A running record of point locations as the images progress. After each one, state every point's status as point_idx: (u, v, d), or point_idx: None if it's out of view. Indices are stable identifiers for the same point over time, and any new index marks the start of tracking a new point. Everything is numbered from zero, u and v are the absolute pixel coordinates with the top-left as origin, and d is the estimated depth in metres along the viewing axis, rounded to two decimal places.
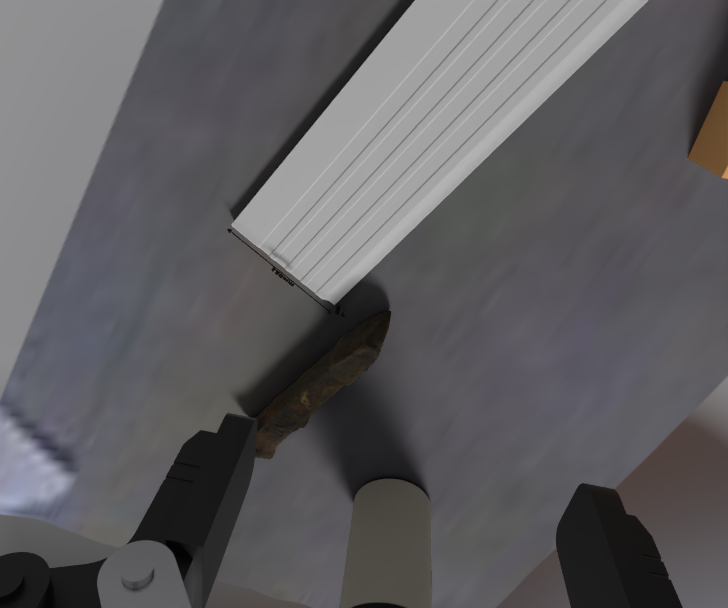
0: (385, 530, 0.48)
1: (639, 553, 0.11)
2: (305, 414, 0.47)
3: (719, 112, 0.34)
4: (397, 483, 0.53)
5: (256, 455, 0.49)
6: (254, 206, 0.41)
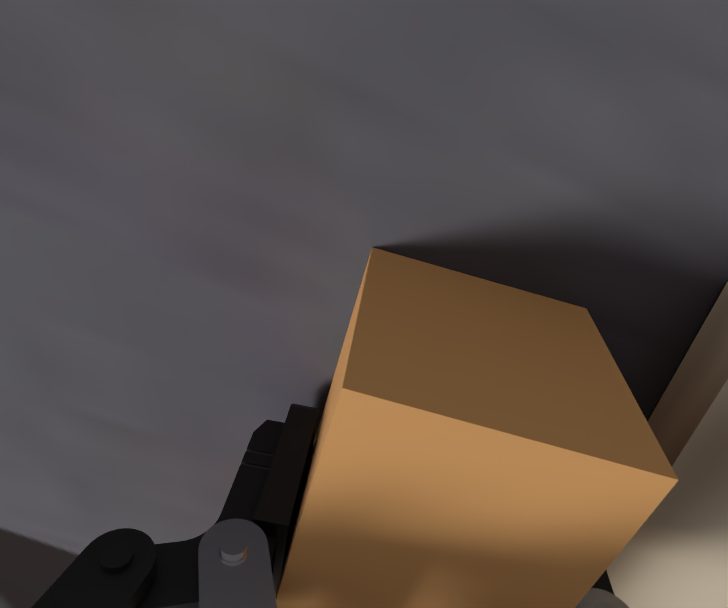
0: None
1: None
2: None
3: (522, 320, 0.11)
4: None
5: None
6: None
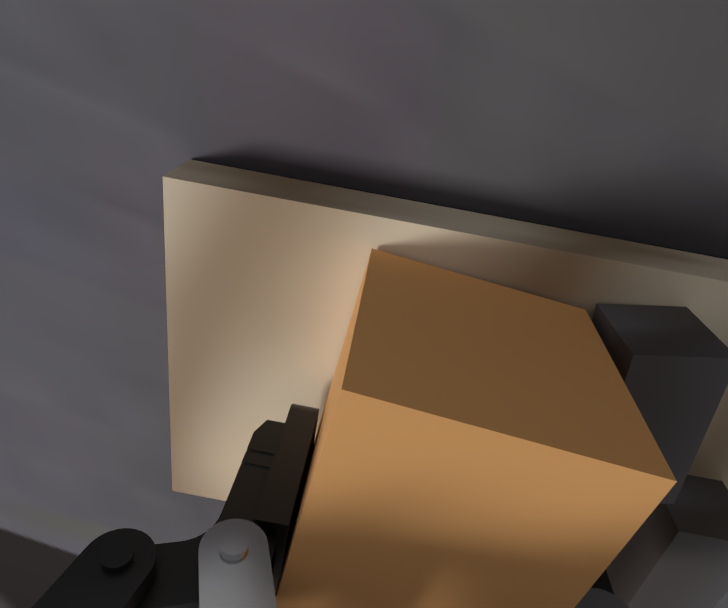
0: None
1: None
2: None
3: (521, 321, 0.11)
4: None
5: None
6: None
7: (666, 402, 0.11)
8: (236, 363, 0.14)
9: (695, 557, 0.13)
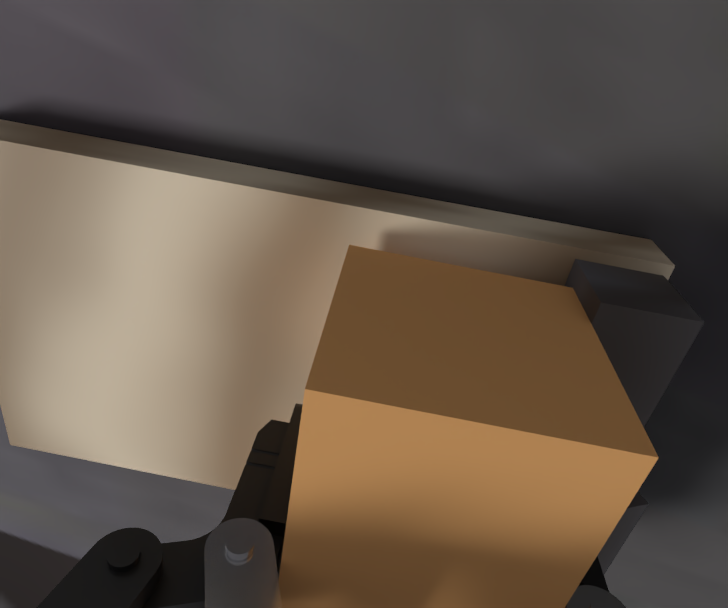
0: None
1: None
2: None
3: (502, 305, 0.11)
4: None
5: None
6: None
7: (626, 358, 0.11)
8: (39, 314, 0.14)
9: None
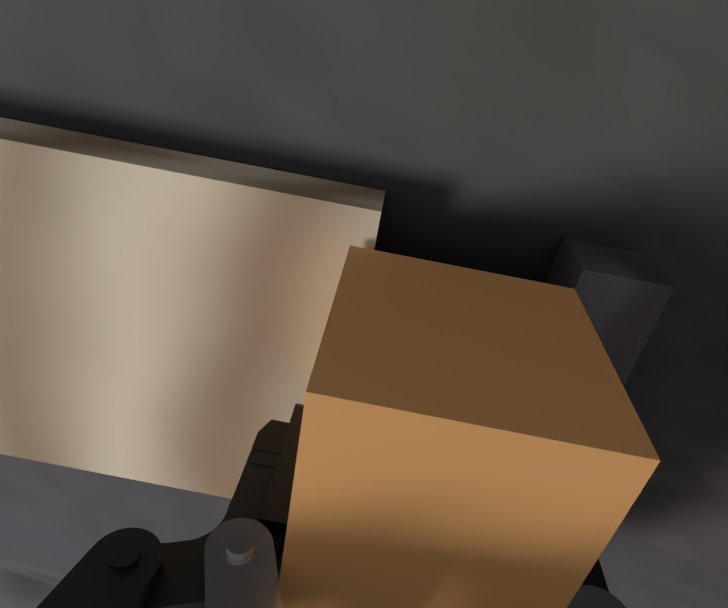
0: None
1: None
2: None
3: (503, 306, 0.10)
4: None
5: None
6: None
7: None
8: None
9: None
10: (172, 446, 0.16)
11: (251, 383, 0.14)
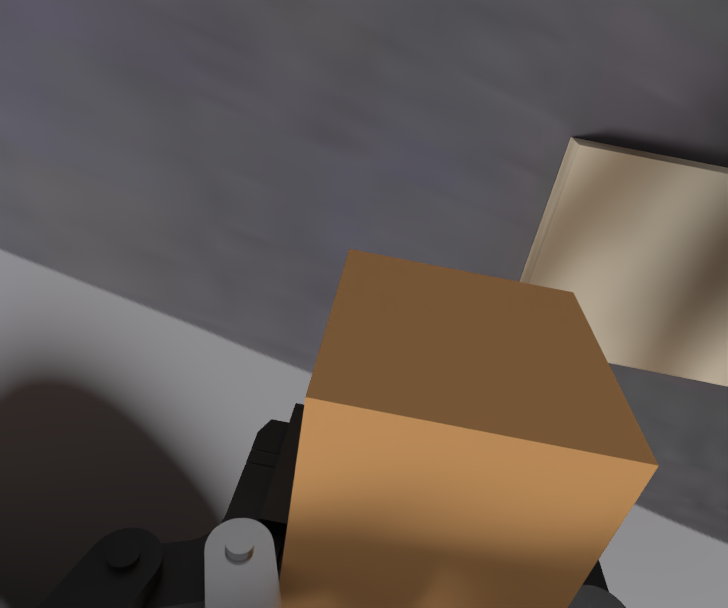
0: None
1: None
2: None
3: (502, 310, 0.11)
4: None
5: None
6: None
7: None
8: (581, 254, 0.24)
9: None
10: None
11: None
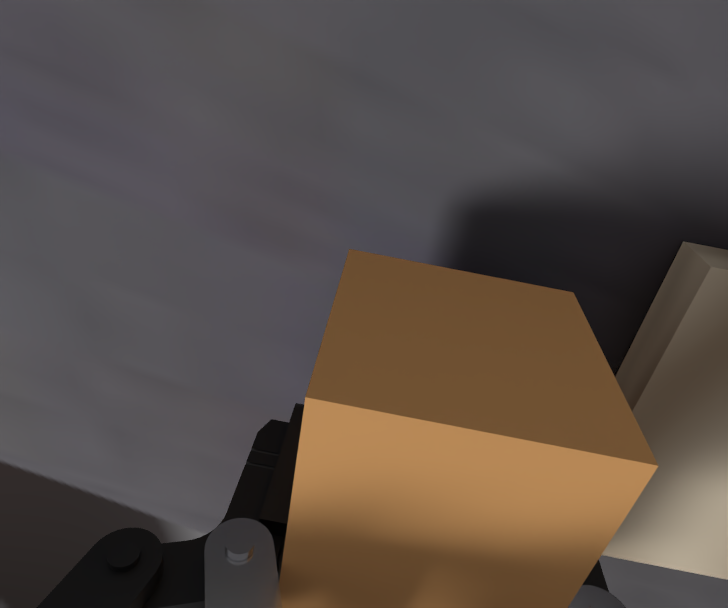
0: None
1: None
2: None
3: (502, 310, 0.11)
4: None
5: None
6: None
7: None
8: (693, 433, 0.14)
9: None
10: None
11: None
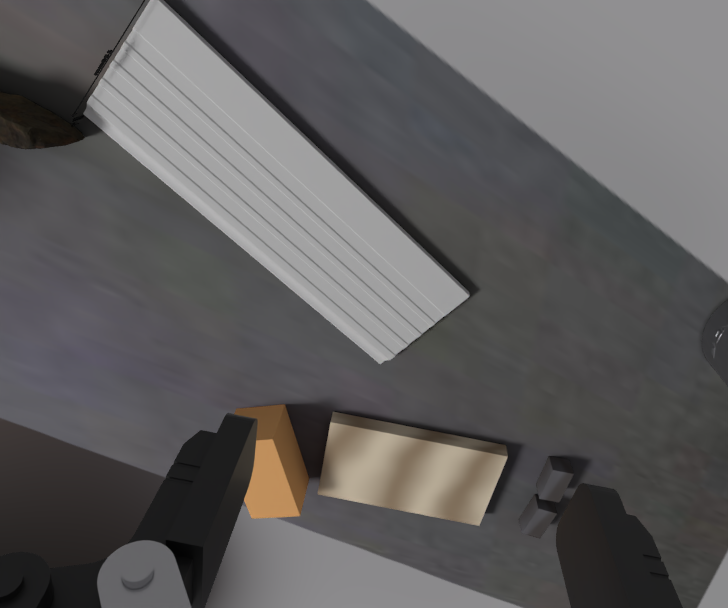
0: None
1: (639, 553, 0.11)
2: None
3: (264, 414, 0.51)
4: None
5: None
6: (181, 31, 0.36)
7: None
8: (342, 460, 0.53)
9: None
10: (438, 505, 0.54)
11: (466, 490, 0.53)
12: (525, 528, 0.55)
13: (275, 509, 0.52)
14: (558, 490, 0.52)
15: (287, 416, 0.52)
